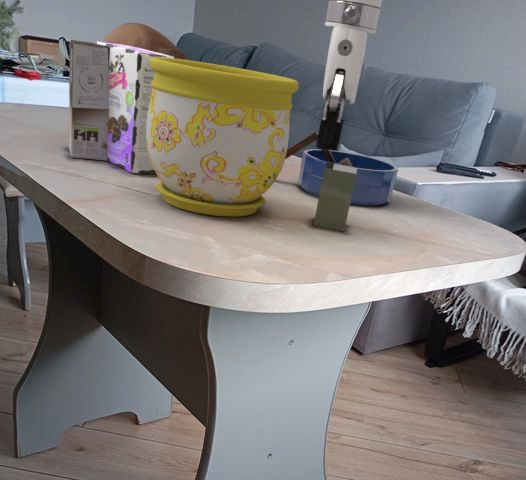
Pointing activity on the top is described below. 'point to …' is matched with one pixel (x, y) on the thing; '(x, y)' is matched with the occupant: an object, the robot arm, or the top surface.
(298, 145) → the wooden gallows stand
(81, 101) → the coffee box
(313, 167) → the bowl
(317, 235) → the top surface
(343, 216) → the olive green upright block
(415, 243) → the top surface
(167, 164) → the flowerpot
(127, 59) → the candy box
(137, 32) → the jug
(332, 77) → the robot arm
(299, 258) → the top surface
